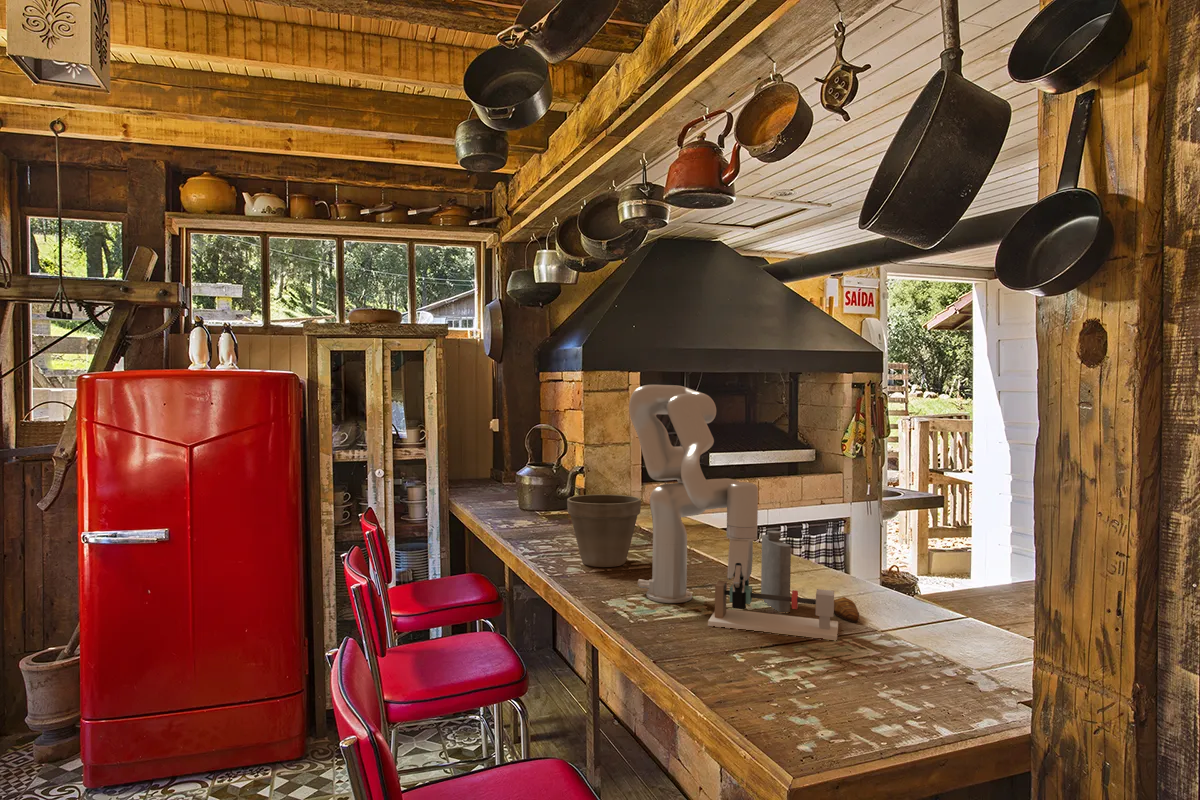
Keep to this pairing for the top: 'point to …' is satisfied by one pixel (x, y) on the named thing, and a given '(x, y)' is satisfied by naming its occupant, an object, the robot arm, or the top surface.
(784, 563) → the hip flask
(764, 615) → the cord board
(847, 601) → the croissant
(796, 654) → the top surface
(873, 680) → the top surface
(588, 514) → the plant pot
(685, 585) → the robot arm
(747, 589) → the sleeve
